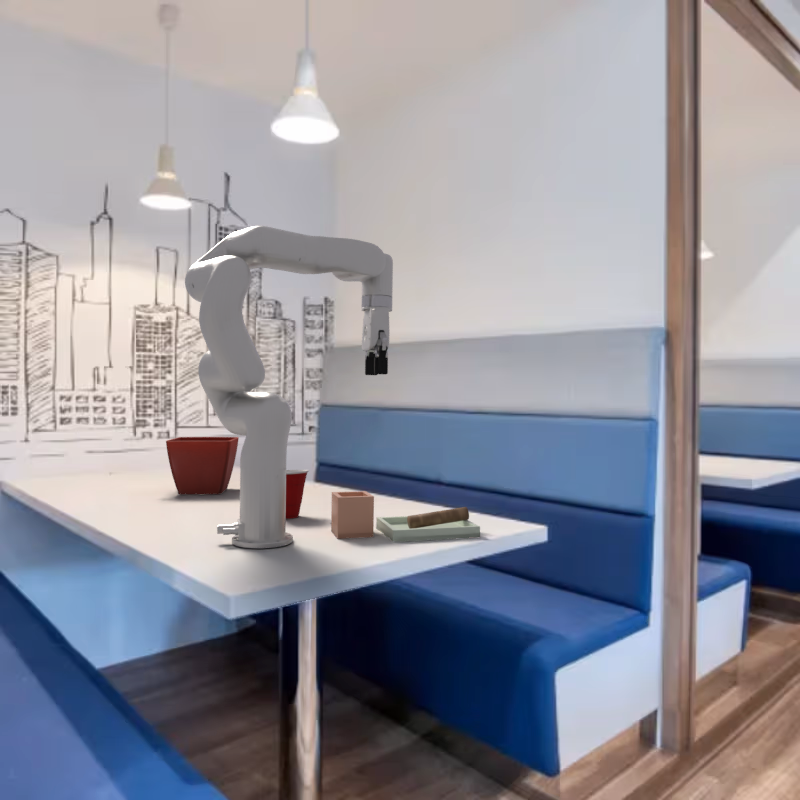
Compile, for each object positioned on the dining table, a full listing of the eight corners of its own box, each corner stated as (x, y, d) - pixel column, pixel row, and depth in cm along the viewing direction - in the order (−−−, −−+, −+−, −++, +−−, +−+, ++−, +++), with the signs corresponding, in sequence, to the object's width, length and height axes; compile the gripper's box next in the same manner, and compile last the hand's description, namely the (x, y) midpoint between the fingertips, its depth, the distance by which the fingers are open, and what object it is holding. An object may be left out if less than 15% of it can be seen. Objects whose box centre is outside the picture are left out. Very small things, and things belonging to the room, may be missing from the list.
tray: (392, 542, 141) (393, 530, 141) (376, 527, 156) (376, 517, 156) (479, 537, 147) (480, 526, 147) (455, 524, 161) (456, 514, 161)
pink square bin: (337, 538, 143) (338, 497, 143) (331, 531, 151) (331, 492, 151) (373, 537, 146) (373, 496, 146) (365, 529, 153) (365, 491, 153)
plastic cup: (290, 511, 176) (290, 466, 176) (316, 516, 169) (317, 469, 168) (256, 516, 168) (256, 469, 168) (282, 522, 161) (283, 473, 160)
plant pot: (178, 487, 215) (179, 436, 215) (238, 487, 217) (239, 436, 217) (164, 497, 196) (164, 440, 196) (230, 496, 198) (230, 440, 198)
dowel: (406, 519, 148) (460, 489, 151) (402, 516, 151) (455, 487, 154) (420, 548, 149) (473, 518, 153) (416, 545, 152) (468, 516, 155)
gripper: (354, 308, 169) (353, 375, 169) (370, 299, 152) (369, 373, 152) (383, 309, 171) (382, 375, 171) (401, 301, 154) (400, 374, 154)
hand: (376, 374), depth 162 cm, fingers open, 9 cm apart
